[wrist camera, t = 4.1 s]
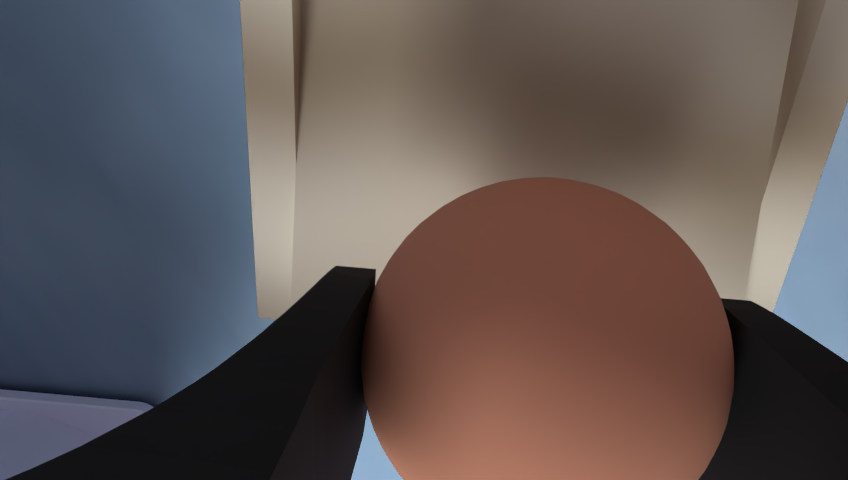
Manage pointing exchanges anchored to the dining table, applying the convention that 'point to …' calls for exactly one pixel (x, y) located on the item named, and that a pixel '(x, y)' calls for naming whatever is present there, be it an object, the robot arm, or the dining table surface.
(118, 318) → the dining table surface
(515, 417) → the ball
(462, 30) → the tray
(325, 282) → the robot arm
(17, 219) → the dining table surface
